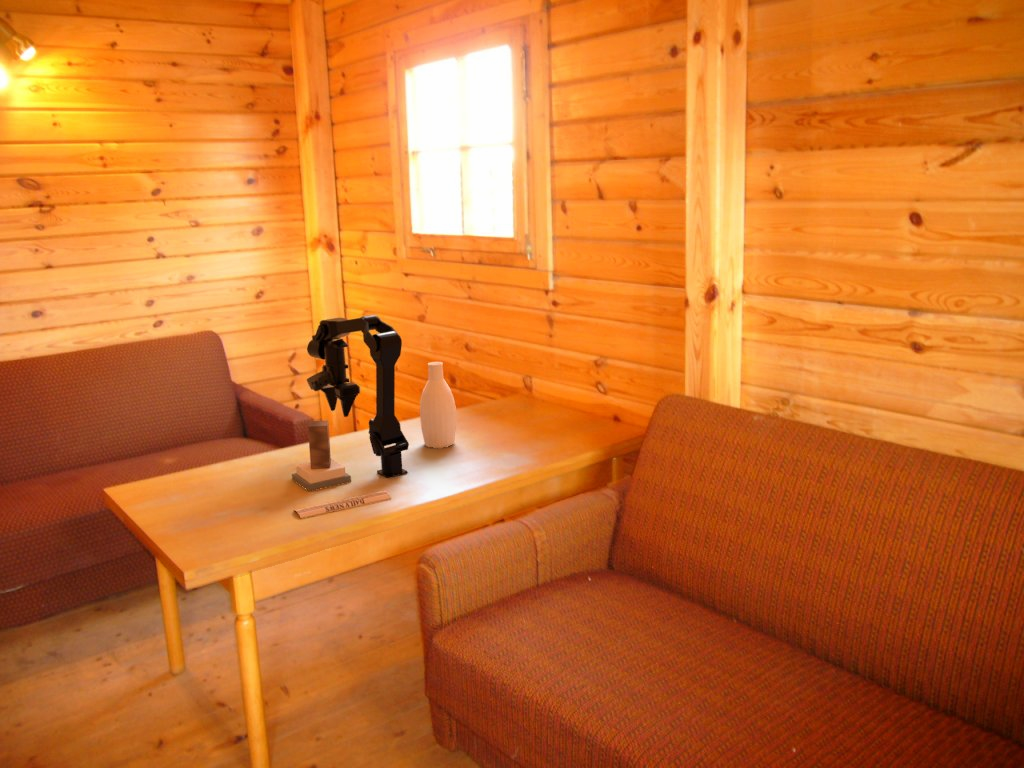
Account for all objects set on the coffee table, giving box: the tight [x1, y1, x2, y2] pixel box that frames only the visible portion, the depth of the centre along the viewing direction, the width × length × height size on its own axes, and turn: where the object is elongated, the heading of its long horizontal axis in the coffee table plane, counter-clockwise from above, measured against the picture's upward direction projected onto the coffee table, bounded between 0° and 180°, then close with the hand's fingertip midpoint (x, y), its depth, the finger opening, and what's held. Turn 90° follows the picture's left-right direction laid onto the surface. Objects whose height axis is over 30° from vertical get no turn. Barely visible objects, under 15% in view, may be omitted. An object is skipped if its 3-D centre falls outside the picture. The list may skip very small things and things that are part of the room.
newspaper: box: [293, 490, 392, 519], centre depth 223 cm, size 24×7×2 cm, turn 120°
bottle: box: [419, 361, 457, 449], centre depth 269 cm, size 11×11×25 cm
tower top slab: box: [295, 458, 347, 484], centre depth 241 cm, size 10×10×2 cm
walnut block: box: [307, 420, 332, 469], centre depth 240 cm, size 5×5×12 cm
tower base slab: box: [291, 472, 352, 492], centre depth 242 cm, size 12×12×2 cm
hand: (339, 413), depth 261 cm, fingers open, 9 cm apart
